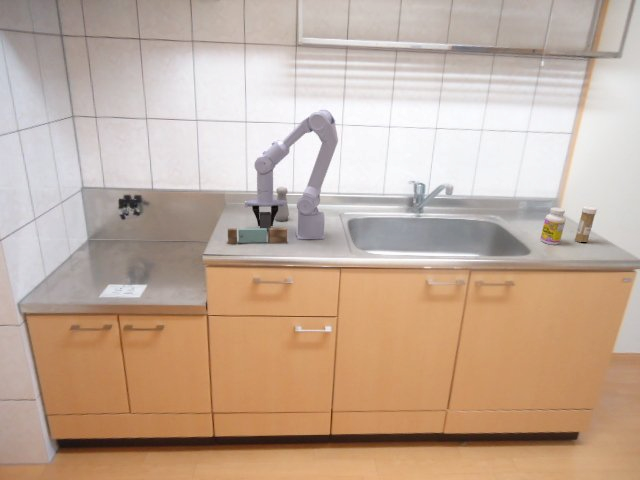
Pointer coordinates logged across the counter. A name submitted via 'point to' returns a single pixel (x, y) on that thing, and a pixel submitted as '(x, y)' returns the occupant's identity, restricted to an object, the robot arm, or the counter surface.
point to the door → (252, 235)
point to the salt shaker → (282, 211)
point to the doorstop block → (265, 220)
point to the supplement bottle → (553, 226)
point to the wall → (273, 235)
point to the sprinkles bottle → (585, 223)
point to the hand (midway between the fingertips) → (265, 225)
